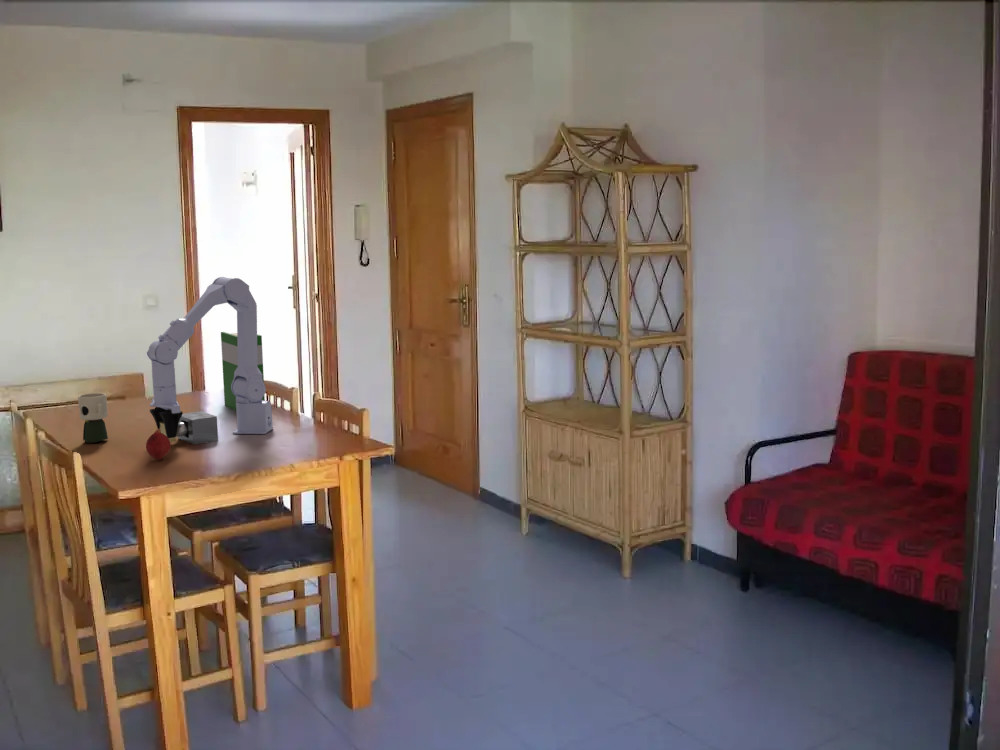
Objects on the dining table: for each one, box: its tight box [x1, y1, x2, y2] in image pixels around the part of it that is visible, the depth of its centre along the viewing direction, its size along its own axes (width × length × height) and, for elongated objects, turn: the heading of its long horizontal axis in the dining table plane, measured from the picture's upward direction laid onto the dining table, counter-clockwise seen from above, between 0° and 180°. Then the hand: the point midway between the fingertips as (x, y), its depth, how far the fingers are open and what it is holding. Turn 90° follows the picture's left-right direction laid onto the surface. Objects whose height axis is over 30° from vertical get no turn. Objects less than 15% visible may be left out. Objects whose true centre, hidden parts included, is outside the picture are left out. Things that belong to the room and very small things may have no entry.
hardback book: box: [220, 331, 266, 412], centre depth 311 cm, size 18×7×24 cm, turn 33°
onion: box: [145, 428, 172, 461], centre depth 245 cm, size 6×6×8 cm
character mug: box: [77, 392, 109, 444], centre depth 266 cm, size 11×7×13 cm, turn 43°
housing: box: [177, 410, 219, 445], centre depth 267 cm, size 7×10×7 cm
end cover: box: [159, 422, 189, 443], centre depth 264 cm, size 8×5×5 cm, turn 130°
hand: (167, 435), depth 262 cm, fingers closed on end cover, 5 cm apart
